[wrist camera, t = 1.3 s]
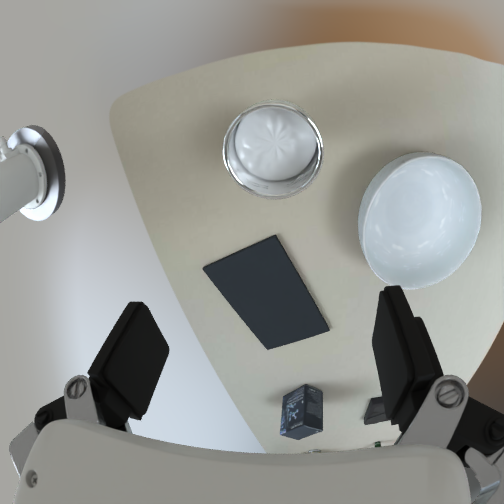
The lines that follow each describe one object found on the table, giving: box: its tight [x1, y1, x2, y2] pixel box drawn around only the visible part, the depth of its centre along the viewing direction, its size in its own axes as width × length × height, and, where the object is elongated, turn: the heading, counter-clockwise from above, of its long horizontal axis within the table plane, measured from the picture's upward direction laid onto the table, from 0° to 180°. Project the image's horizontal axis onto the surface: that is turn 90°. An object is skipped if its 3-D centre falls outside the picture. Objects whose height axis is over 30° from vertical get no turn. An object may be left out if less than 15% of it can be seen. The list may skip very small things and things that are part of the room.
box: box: [280, 384, 323, 440], centre depth 53 cm, size 8×6×11 cm
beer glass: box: [223, 99, 324, 199], centre depth 23 cm, size 7×7×15 cm
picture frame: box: [364, 397, 391, 425], centre depth 58 cm, size 13×2×18 cm
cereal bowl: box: [358, 152, 482, 289], centre depth 29 cm, size 17×17×7 cm
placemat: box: [203, 235, 330, 350], centre depth 43 cm, size 20×12×1 cm, turn 30°
